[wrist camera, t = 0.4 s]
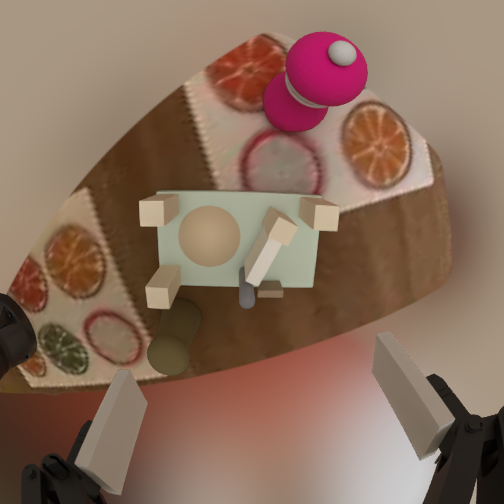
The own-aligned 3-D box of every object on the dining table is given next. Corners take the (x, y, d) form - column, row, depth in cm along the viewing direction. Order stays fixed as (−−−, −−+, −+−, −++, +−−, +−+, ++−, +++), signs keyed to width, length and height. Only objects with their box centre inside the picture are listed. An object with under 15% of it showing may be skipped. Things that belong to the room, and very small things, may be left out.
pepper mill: (305, 144, 33) (382, 124, 14) (251, 122, 32) (269, 68, 13) (324, 96, 31) (407, 40, 12) (272, 74, 30) (309, -12, 11)
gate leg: (257, 268, 35) (261, 292, 28) (241, 260, 35) (242, 283, 28) (286, 214, 33) (298, 227, 27) (270, 206, 33) (278, 216, 26)
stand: (164, 278, 37) (143, 314, 28) (160, 190, 34) (133, 199, 24) (309, 281, 38) (330, 317, 29) (317, 194, 35) (345, 205, 25)
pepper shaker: (174, 290, 38) (154, 333, 27) (209, 313, 39) (201, 362, 29) (154, 318, 39) (132, 365, 29) (188, 340, 40) (176, 390, 30)
